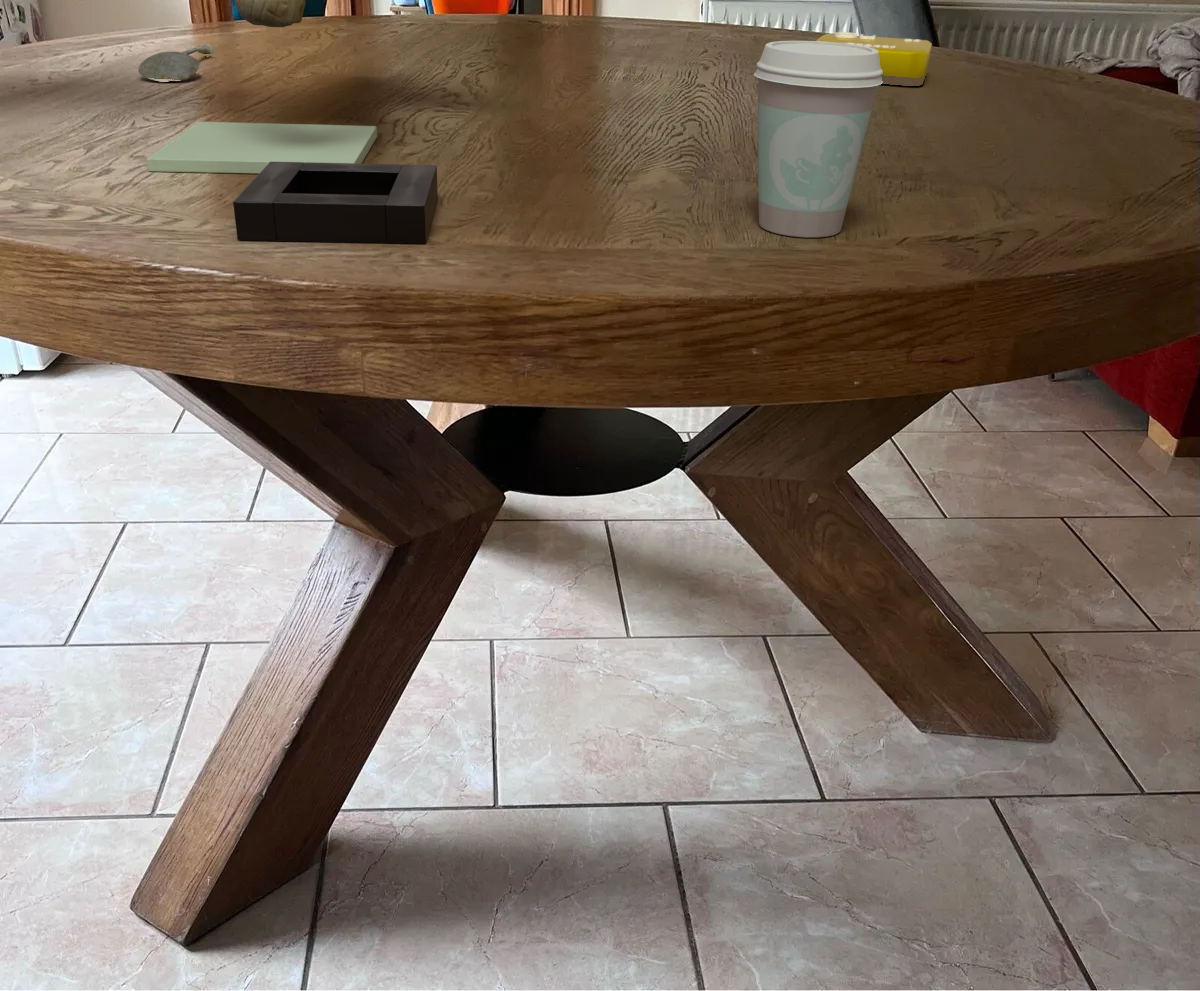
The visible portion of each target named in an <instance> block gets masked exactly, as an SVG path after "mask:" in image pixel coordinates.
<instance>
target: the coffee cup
mask: <svg viewBox="0 0 1200 991" xmlns="http://www.w3.org/2000/svg"><path fill="white" fill-rule="evenodd" d="M882 74H883V71H882V69H881V68H880V59H879V51H878V50H876V49H874V48H870V47H866V46H860V45H854V44H846V43H836V42H822V41H816V40H778V41H771V42H768V43H766V44H764V48H763V51H762V53H761V57H760V59H759V60H758V61H757V63H756V70H755V72H754V74H753V75H754V77H755V78H757V143H758V144H757V148H758V150H757V155H758V156H757V159H758V160H757V164H758V166H757V168H758V170H757V172H758V174H757V175H758V177H757V178H758V225H759V226H760V227H761V228H762V229H763V230H765V231H767V232H769V233H772V234H775V235H780V236H785V237H793V238H802V239H803V238H805V239H806V238H807V239H818V238H826V237H828V238H829V237H832V236H835V235H837V234H839V233H841V231H842V228H843V223H844V219H845V217H846V216H845V215H846V212H847V207H848V204H849V202H850V201H849V200H850V196H851V193H852V188H853V185H854V181H855V177H856V173H857V169H858V165H859V161H860V157H861V154H862V153H861V152H862V149H863V145H864V141H865V137H866V133H867V129H868V125H869V121H870V117H871V114H872V110H873V105H874V101H875V98H876V92H877V89H878V86H882V85H881V84H882V83H883V81H882V76H881V75H882Z"/></svg>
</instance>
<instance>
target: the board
mask: <svg viewBox="0 0 1200 991" xmlns="http://www.w3.org/2000/svg"><path fill="white" fill-rule="evenodd" d="M377 138H378V128H377V126H376V125H349V124H348V125H345V124H344V125H343V124H306V123H305V124H304V123H303V124H302V123H266V122H264V123H263V122H229V121H228V122H226V121H225V122H223V121H196V122H195V123H194V124H193V125H191V126H190V127H189V128H187V129H186V130H184V131H183V132H182V133H180V134H179V135H178V136H176V137H175V138H173V139H172V140H171V141H169V142H167V144H165V145H163V146H162V147H160V148H159V149H158V150H157V151H155V152H154V153H152V154H151V155H150V156H148V157H147V158H146V159H145V160H146V168H147V171H148V172H158V173H159V172H160V173H199V174H200V173H203V174H205V173H206V174H207V173H208V174H209V173H210V174H213V173H214V174H248V175H249V174H251V175H252V174H253V175H259V173H260V172H261V171H262V170H263V169H264V168H265V167H266V166H267V165H268V164H269V163H270V162H304V163H305V162H314V163H358V164H363V162H364V160H365V158H366V156H367V155H368V153H369V151H370V150H371V148H372V146H373V145H374V143H375V142H376V139H377Z"/></svg>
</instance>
